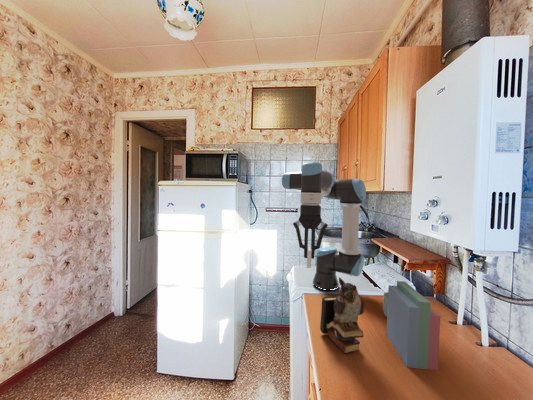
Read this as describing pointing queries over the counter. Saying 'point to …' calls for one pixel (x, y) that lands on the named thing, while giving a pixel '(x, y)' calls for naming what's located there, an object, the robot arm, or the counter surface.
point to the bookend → (343, 317)
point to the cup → (385, 303)
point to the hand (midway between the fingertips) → (308, 266)
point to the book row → (413, 327)
